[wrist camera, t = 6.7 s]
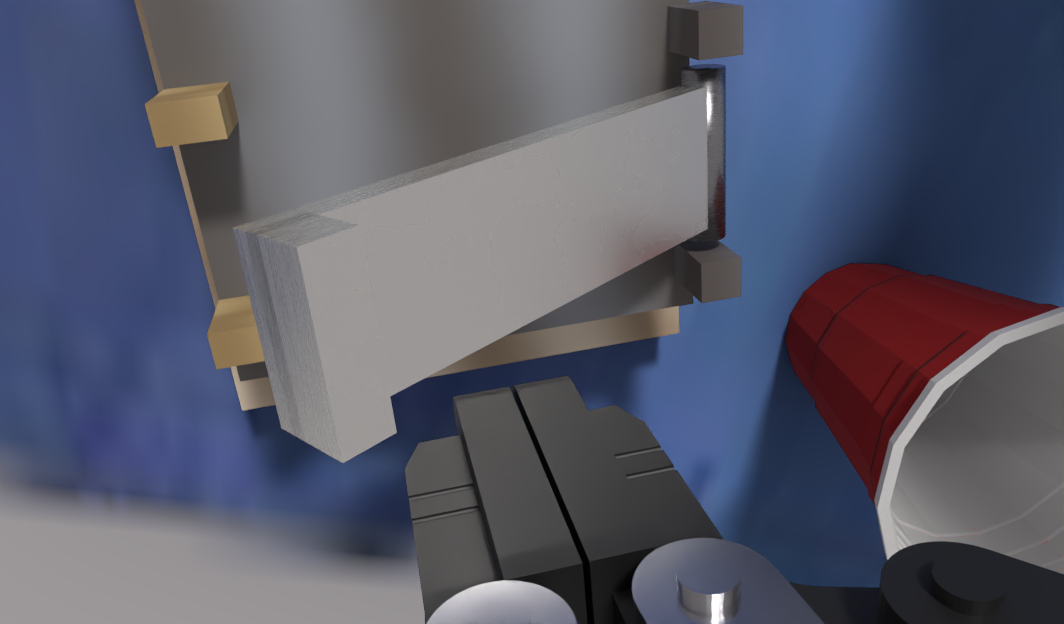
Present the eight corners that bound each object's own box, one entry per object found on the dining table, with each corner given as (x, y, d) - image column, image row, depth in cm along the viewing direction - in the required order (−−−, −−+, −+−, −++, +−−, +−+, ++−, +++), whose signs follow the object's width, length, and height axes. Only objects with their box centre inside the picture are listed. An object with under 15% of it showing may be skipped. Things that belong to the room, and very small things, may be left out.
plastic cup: (778, 172, 33) (998, 280, 22) (999, 228, 36) (1289, 347, 25) (687, 419, 36) (837, 618, 25) (896, 450, 39) (1110, 640, 28)
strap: (696, 63, 24) (767, 65, 22) (698, 226, 26) (764, 237, 24) (221, 204, 14) (291, 222, 13) (280, 443, 16) (347, 482, 15)
